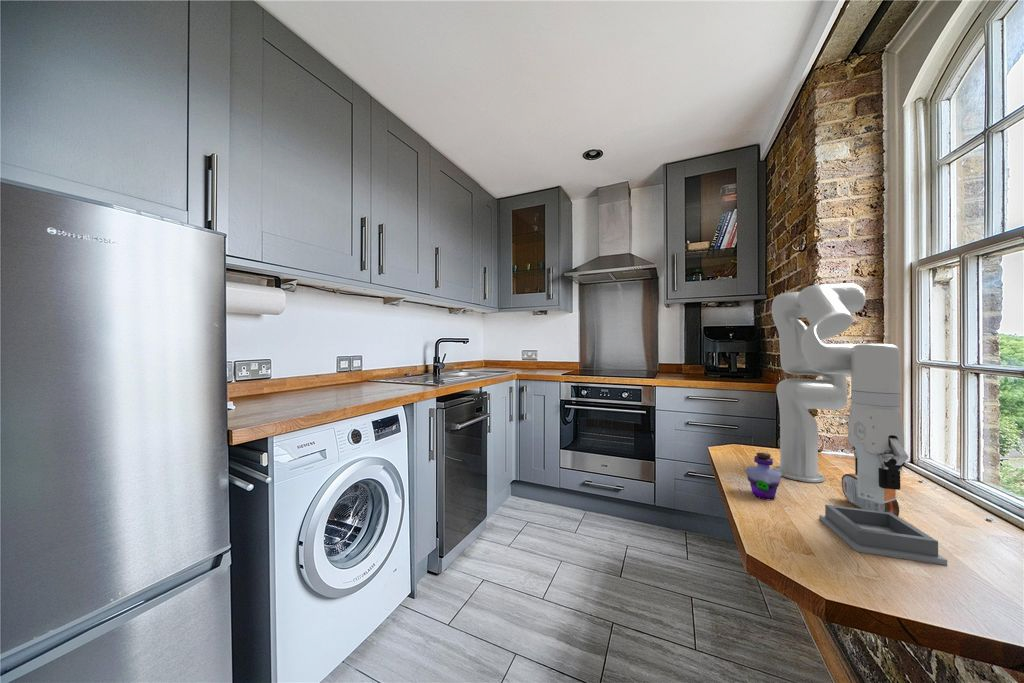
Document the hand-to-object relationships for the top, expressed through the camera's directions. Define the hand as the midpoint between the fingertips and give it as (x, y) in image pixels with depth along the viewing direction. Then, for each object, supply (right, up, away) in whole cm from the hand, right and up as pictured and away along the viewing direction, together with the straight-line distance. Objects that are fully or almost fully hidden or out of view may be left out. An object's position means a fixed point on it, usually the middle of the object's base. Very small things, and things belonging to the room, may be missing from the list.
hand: (876, 481), depth 75 cm
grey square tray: (0, -13, 0) cm, 13 cm away
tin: (+12, -13, +13) cm, 22 cm away
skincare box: (0, -4, 0) cm, 4 cm away
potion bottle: (-9, -13, +22) cm, 27 cm away
